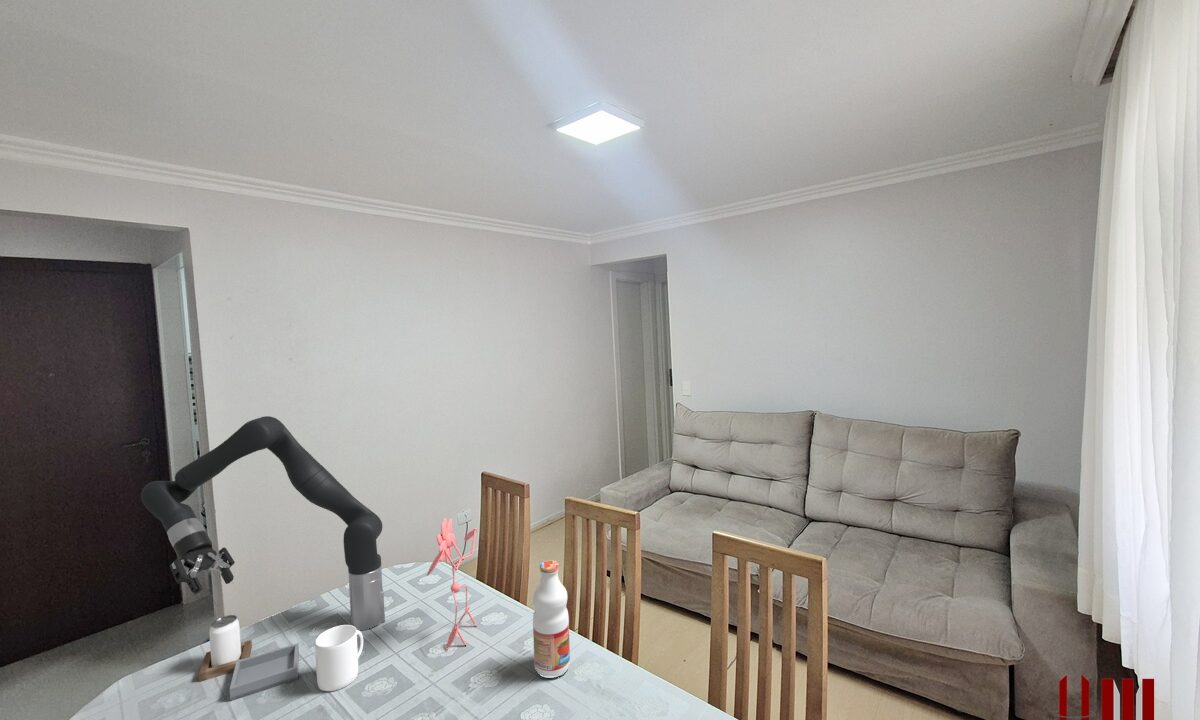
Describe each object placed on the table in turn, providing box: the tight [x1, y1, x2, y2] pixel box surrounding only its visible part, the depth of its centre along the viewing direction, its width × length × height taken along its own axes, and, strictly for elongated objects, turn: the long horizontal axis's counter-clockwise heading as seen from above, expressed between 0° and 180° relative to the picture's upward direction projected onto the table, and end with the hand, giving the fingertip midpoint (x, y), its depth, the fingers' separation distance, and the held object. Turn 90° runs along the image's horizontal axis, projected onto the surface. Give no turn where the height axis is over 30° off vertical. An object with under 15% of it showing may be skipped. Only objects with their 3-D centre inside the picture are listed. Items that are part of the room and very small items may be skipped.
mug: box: [314, 624, 364, 692], centre depth 125 cm, size 10×12×12 cm
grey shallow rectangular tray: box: [229, 642, 300, 702], centre depth 126 cm, size 14×12×3 cm
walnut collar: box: [198, 639, 253, 683], centre depth 131 cm, size 10×10×2 cm
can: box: [208, 614, 242, 668], centre depth 131 cm, size 6×6×12 cm
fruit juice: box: [532, 559, 571, 676], centre depth 126 cm, size 9×9×28 cm
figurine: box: [426, 517, 478, 649], centre depth 140 cm, size 15×26×35 cm, turn 176°
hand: (215, 586), depth 131 cm, fingers open, 8 cm apart
